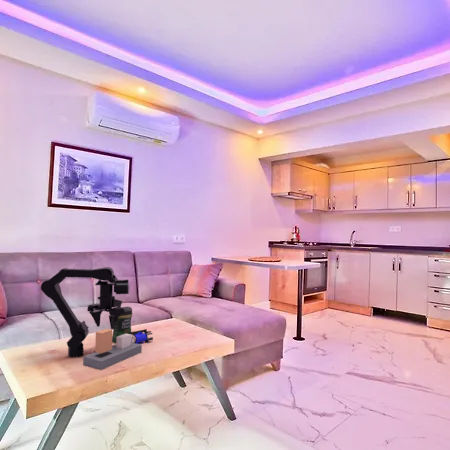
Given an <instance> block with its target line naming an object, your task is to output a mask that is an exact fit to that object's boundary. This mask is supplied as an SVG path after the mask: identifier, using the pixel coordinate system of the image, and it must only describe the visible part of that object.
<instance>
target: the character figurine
mask: <svg viewBox="0 0 450 450" xmlns="http://www.w3.org/2000/svg"><path fill="white" fill-rule="evenodd" d="M126 334H131V343H135V344H140V343H141V344H140V345H142V344H145V343H149V341H153V340H154V337H152V336H151V337H148V336H150V335H153V334H154V333H153V332H152V331H151V330H148V329H147V328H146V329H145V328H144V329H141V330H134V331H131V332H128V333H126Z"/></svg>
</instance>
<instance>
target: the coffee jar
mask: <svg viewBox="0 0 450 450" xmlns="http://www.w3.org/2000/svg"><path fill="white" fill-rule="evenodd" d="M122 307H123V308H124V309H125V312H124V314H122V315H121V316H119V317H118V319H117V321H116V324H115V327H114V329H112V344H113V343H114V345H116V337H117V336H120V335H123V334H126V333H128V332H132V317H133V308H132V307H130V306H122Z"/></svg>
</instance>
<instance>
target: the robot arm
mask: <svg viewBox="0 0 450 450" xmlns="http://www.w3.org/2000/svg"><path fill="white" fill-rule="evenodd" d="M66 278H83V279H85V278H86V279H87V278H90V279H95V280H98V281H97V282H95V286H99V296H97V300H99V303H96V302H95V303H92V304H89V305H88V306H87V310H86V311H87V312H88V313H89V314H90V315H91V317H92V319H93V320H94V321H93V322H94V323H95V324H96V327H98V328H99V327H100V326H101V316H102V313H103V312H107V313H108V314H109V315H108V319H109V327H110V330H113V329H114V327H115V324H116V321H117V319H118V317H119V316H121V315H122V314H124V312H125V309H124V308H123V307H124V306H122V303H123V301H122V300H121V299H120V300H119V299H116V297H115V295H129V293H130V285H129V284H130V282H129V279H118V278H117V277H116V275H115V274H114V269H113V268H112V267H108V266H107V267H106V266H105V267H100V268H99V267H98V268H93V269H92V268H89V269H87V268H67V267H64V268H62V269H60V270H59V271H58V272H57V273H56V274H55V275H53V276H52V277H51V278H49V279H47V280H43V282H42V283H41V286H40V291H42V293H43V294H44V295H45V296H46V297H48V298H49V299H50V300H51V301H52V302H53V303H54V305H55V306H56V308H57V309H58V311H59V313H60V314H61V316H62V317H63V318H64V320H65V322H66V324H67V325H68V328H69V332H70V335H71V337H70V338H69V340H68V341H67V342H66V344H67V347H68V348H67V356H65V358H66V357H69V358H81V357H84V343H83V341H84V340H85V339H86V338H87V336H88V335H89V332H90V330H89V326H88V325H87V324H86V321H85V320H83V321H80V320H79V319H78V317H77V316H76V315H75V313H74V311H73V309H72V308H71V307H70V305H69V303H68V302H67V301H66V298H65V297H64V296H63V294H62V289H61V285H60V284H61V283H62V282H63V281H64V280H65V279H66ZM114 293H115V295H113V294H114Z"/></svg>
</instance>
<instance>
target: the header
mask: <svg viewBox="0 0 450 450" xmlns="http://www.w3.org/2000/svg"><path fill="white" fill-rule="evenodd" d="M142 347H143V346H142V344H140V343H139V344H136V343H131V346H130V347H127V348H125V349H122V350H121V349H117V348H116V344H114V345H113V344H112V350H109V351H106V352H104V353H97V352H95V351H94V352H92V353H89V354H87V355H83V356H82V357H83V358H82V359H83V360H82V365H83V366H86V367H91V368H93V369H97V370H101V371H102V370H105V369H107V368H109V367H111V366H113V365H116V364H118V363H120V362H123V361H124V360H127V359H129V358H132V357H134V356H137V355H138V354H141V353H142V351H143V348H142Z"/></svg>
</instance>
